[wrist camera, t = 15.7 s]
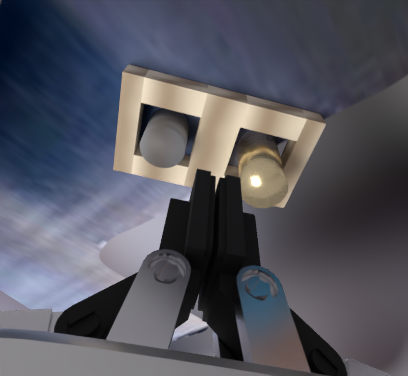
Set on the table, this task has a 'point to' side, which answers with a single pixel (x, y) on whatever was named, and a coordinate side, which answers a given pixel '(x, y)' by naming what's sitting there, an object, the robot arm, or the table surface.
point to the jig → (202, 128)
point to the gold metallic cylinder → (261, 170)
